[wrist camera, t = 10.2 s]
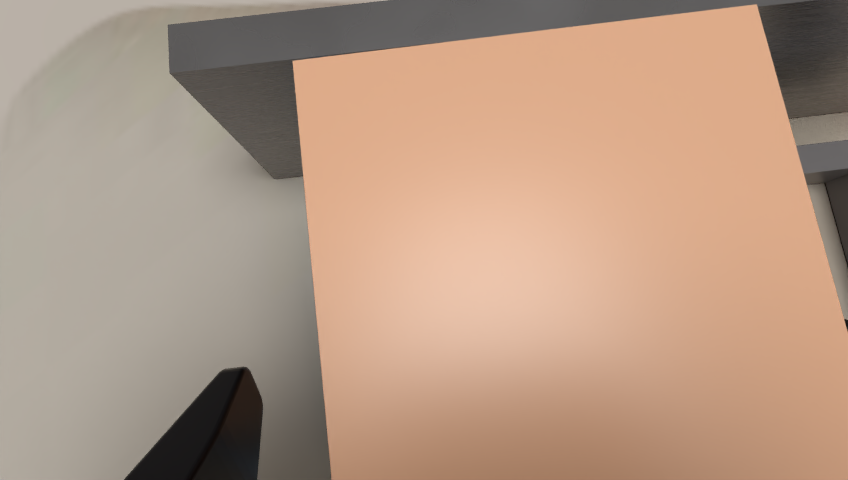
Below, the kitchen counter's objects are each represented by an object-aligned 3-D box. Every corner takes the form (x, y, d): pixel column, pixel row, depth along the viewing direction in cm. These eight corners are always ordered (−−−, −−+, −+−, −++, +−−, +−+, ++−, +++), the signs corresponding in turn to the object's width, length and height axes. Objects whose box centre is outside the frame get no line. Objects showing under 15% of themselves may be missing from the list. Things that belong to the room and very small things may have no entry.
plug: (530, 367, 18) (895, 500, 4) (405, 384, 18) (341, 582, 4) (506, 224, 19) (737, -68, 5) (388, 239, 19) (285, -15, 5)
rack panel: (885, 107, 20) (1196, -44, 12) (274, 179, 19) (169, 73, 11) (876, 79, 20) (1176, -88, 12) (272, 149, 19) (167, 25, 11)
